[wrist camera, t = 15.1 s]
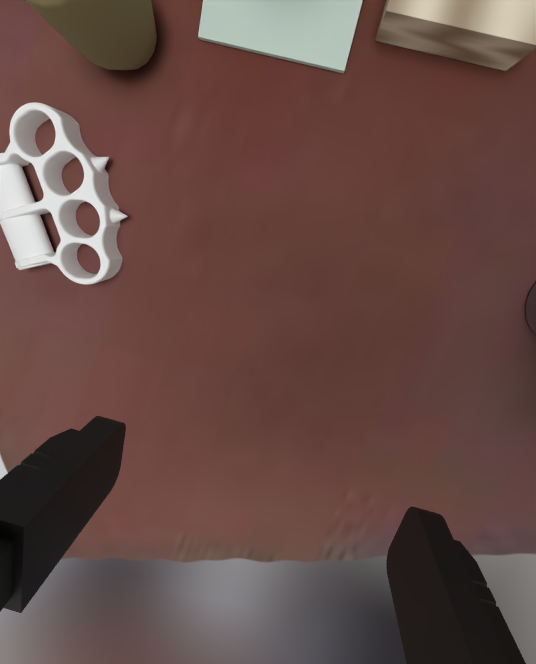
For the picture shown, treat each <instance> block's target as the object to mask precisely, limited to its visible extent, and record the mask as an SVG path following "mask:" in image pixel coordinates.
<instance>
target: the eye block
mask: <svg viewBox="0 0 536 664" xmlns="http://www.w3.org/2000/svg"><path fill="white" fill-rule="evenodd" d="M375 41H378V42H383V43H387V44H391V45H396V46H400V47H404V48H409V49H413V50H417V51H422V52H426V53H430V54H434V55H439V56H443V57H447V58H452V59H456V60H460V61H465V62H469V63H473V64H478V65H482V66H486V67H491V68H495V69H499V70H503V71H507V70H508V69H509V68H511V67H512V66H513V65H515V64H516V63H517V62H519V61H520V60H521V59H523V58H524V57H525V56H527V55H528V54H529V53H530V52H532V51H533V50H534V49H536V0H386V3H385V7H384V10H383V14H382V17H381V21H380V25H379V28H378V32H377V36H376V39H375Z"/></svg>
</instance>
